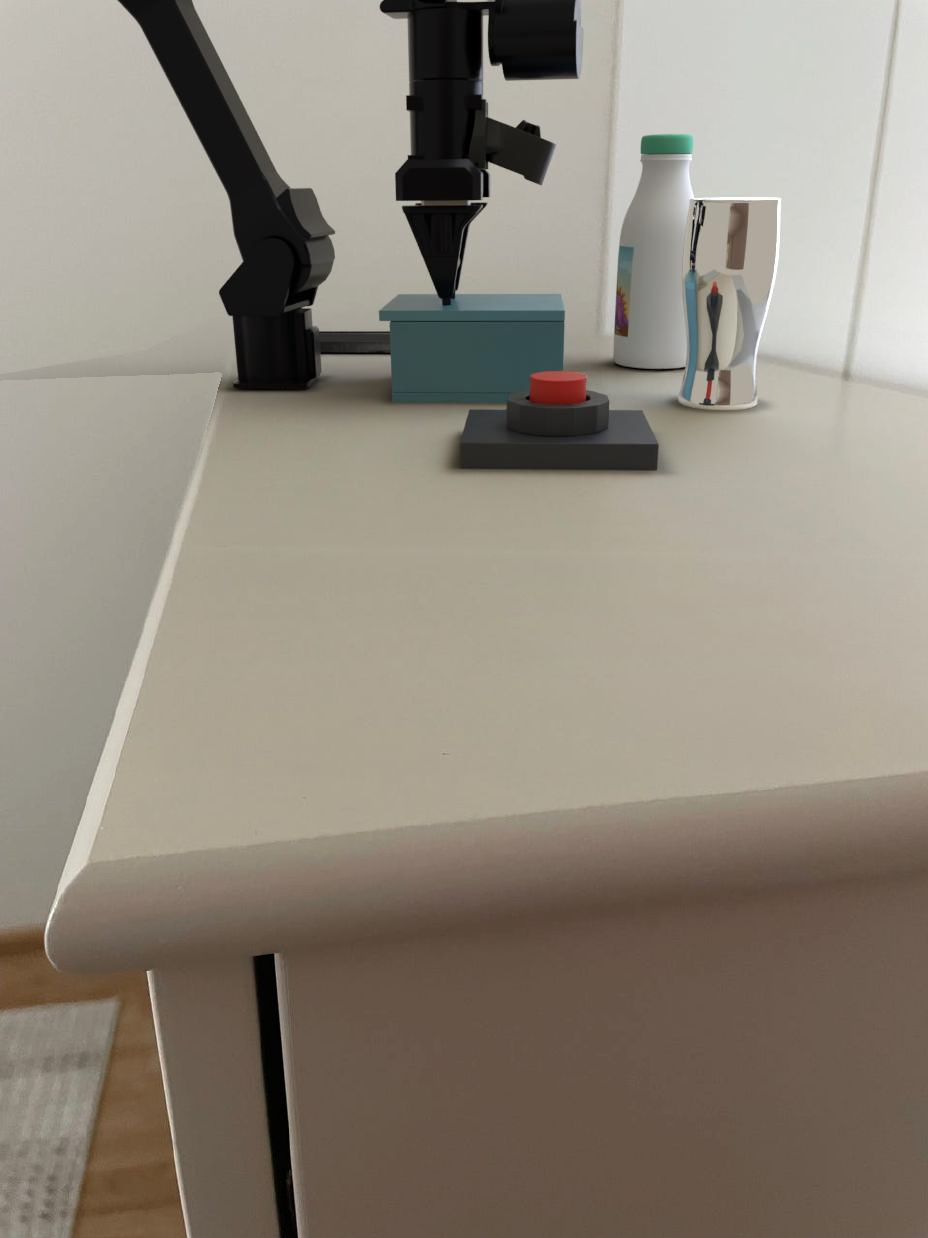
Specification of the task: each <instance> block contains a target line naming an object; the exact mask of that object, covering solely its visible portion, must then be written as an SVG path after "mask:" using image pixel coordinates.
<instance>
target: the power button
mask: <svg viewBox="0 0 928 1238" xmlns="http://www.w3.org/2000/svg"><path fill="white" fill-rule="evenodd" d="M587 377H588V376H587V375H586V374H585V373H581V372H576V371H567V370H563V371H548V372H539V373H534V374H532V375H531V376H530V401H532V402H537V403H546V404H572V403H581V402H586V390H587V382H588V380H587V379H588V378H587Z"/></svg>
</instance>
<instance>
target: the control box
mask: <svg viewBox="0 0 928 1238" xmlns="http://www.w3.org/2000/svg"><path fill="white" fill-rule="evenodd" d="M610 402H611V401H610V398H609V395H607V394H604V393H600V392H597V391H594V390H588V389H586V402H581V403H572V404H546V403H537V402H532V401H530V390H522V391H519V392H516V393H513V394H509V395H508V396H507V402H506V409H487V408H486V409H485V408H484V409H481V408H480V409H479V408H478V409H477V408H476V409H474V408H473V409H472V408H471V409H469V410H468V412H467V416H466V419H465V420H466V421H465V423H464V427H463V431H462V434H461V438H460V442H459V469H461V470H550V471H551V470H559V471H562V470H563V471H564V470H566V471H568V470H569V471H570V470H571V471H572V470H573V471H658V461H659V447H660V445H659V441H658V440H657V438H656V435H655V434H654V431H653V430H652V427H651V426H650V425H651V424H650V423H649V421H648V420H647V417H646V414H645V413H644V411H643V410H642V409H610Z"/></svg>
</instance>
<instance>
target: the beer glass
mask: <svg viewBox="0 0 928 1238" xmlns="http://www.w3.org/2000/svg"><path fill="white" fill-rule="evenodd" d="M694 198H695V197H694ZM781 202H782V198H780V197H698V198H697V197H696V198H695V199H690V200H689V210H688V217H687V223H686V230H685V238H684V246H683V257H682V295H683V306H684V316H685V326H686V339H687V358H686V367H684V373H683V377H682V380H681V385H680V389H679V392H678V398H677V401H678V403H679V404H680V405H682V406H684V407H687V408H693V409H699V410H706V411H740V410H748V409H751V408H755V407H756V406H757V405H758V388H757V387H758V386H757V372H756V371H757V370H756V368H757V356H758V350H759V344H760V341H761V340H760V339H761V336H762V332H763V329H764V326H765V321H766V318H767V314H768V310H769V306H770V302H771V299H772V295H773V290H774V287H775V283H776V282H775V281H776V276H777V269H778V262H779V251H780V234H781V233H780V231H781Z"/></svg>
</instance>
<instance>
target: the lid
mask: <svg viewBox="0 0 928 1238" xmlns="http://www.w3.org/2000/svg"><path fill="white" fill-rule="evenodd" d="M460 263H461V259H460V256H459V262H458V267H459V266H460ZM457 269H458V268H457ZM565 320H566V309H565V305H564V301H563V297H562V294H561V293H457V291H456V288H455V287H454V293H453V297H452V298H451V299H440V298H439V297H438V294H437V293H398V294H396V296H395V297H393V298H392V299H391V300H390V301H388V302H387V303H386V304H385V305H384V306H383V307H382V308H380V310H378V321H379V322H390V321H564V322H565Z"/></svg>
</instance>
